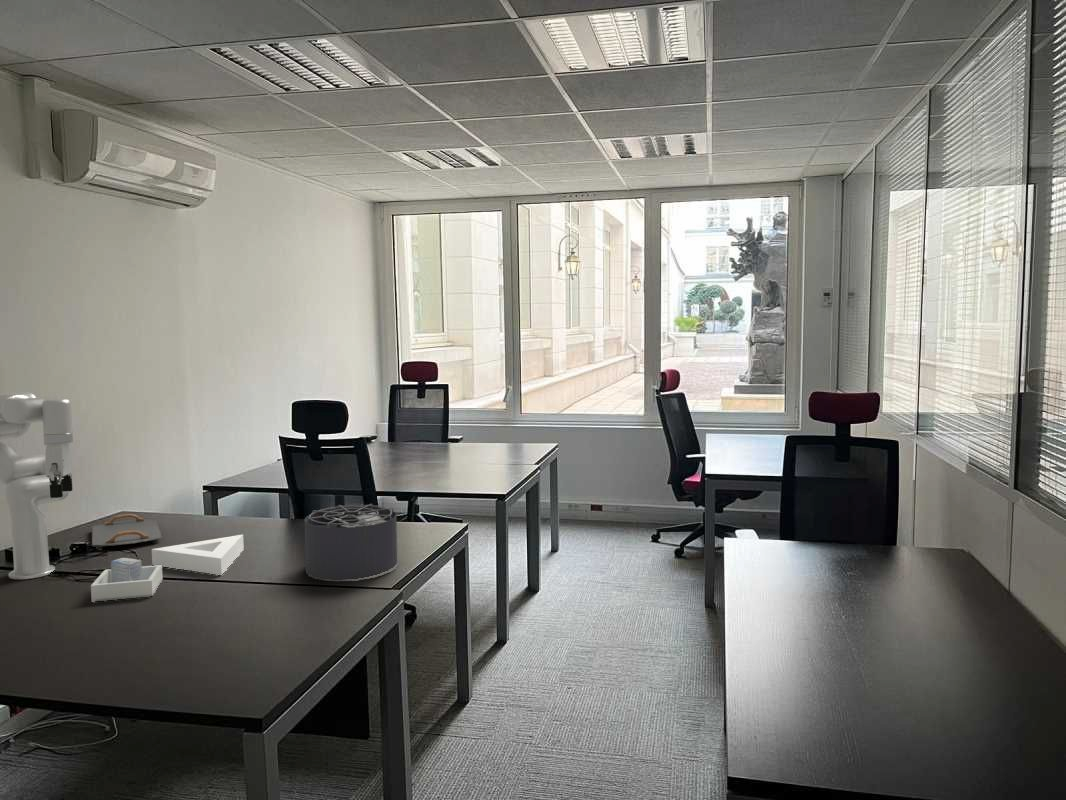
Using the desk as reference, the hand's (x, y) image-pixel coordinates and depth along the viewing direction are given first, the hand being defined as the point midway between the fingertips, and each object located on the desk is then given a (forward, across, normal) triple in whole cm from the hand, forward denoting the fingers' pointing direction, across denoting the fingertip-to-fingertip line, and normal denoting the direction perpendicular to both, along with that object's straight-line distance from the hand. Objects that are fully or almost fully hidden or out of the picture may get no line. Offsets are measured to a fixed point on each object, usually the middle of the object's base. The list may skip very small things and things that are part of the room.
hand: (61, 494), depth 234 cm
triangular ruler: (+29, -14, +42) cm, 53 cm away
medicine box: (+28, +13, +20) cm, 36 cm away
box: (+28, +13, +20) cm, 37 cm away
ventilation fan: (+29, +9, +86) cm, 91 cm away
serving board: (+29, -57, +5) cm, 64 cm away
